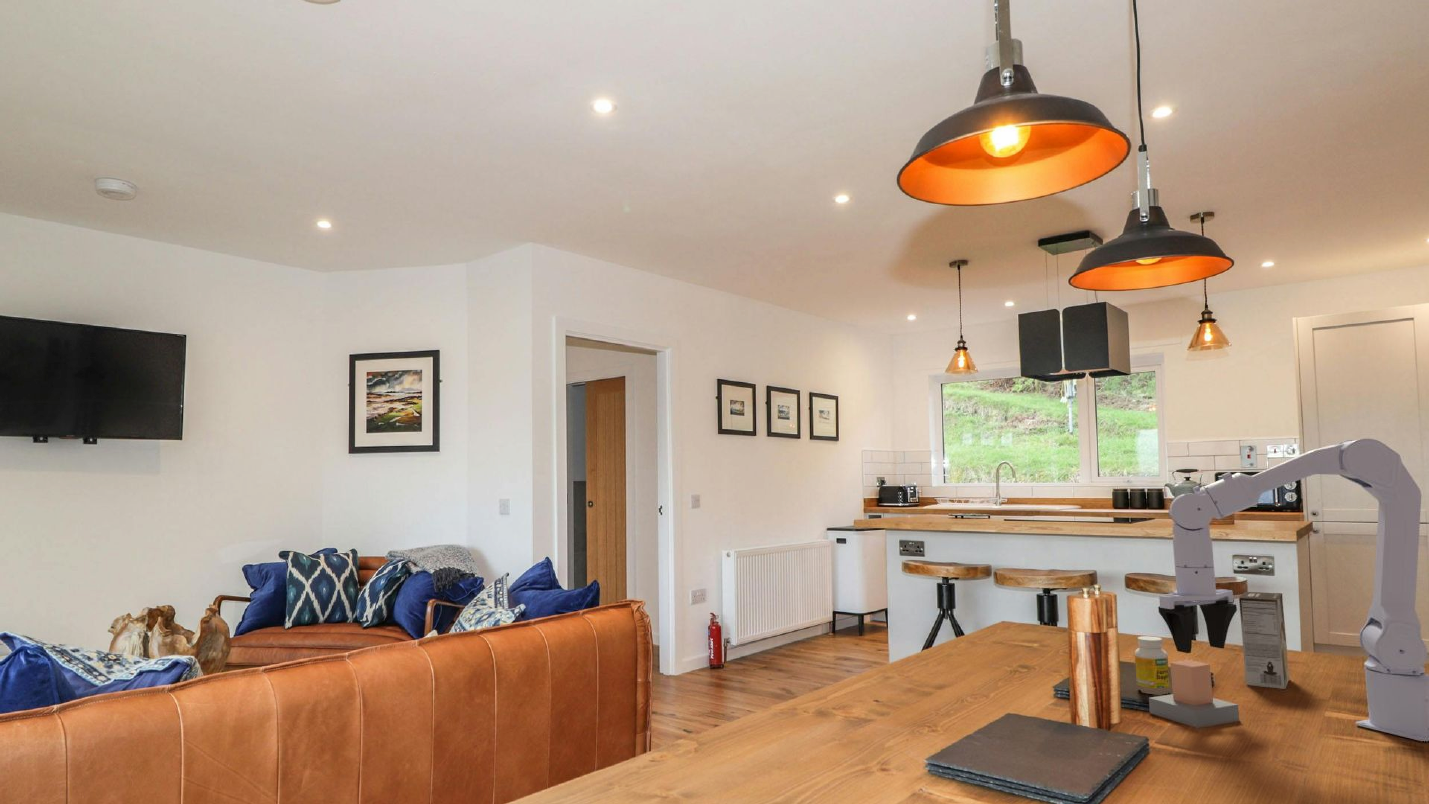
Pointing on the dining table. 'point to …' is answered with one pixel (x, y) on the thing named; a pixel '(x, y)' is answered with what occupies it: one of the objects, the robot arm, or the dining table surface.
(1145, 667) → the supplement bottle
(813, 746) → the dining table surface
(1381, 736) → the dining table surface
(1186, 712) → the slate block
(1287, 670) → the coffee box
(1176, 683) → the terracotta block
